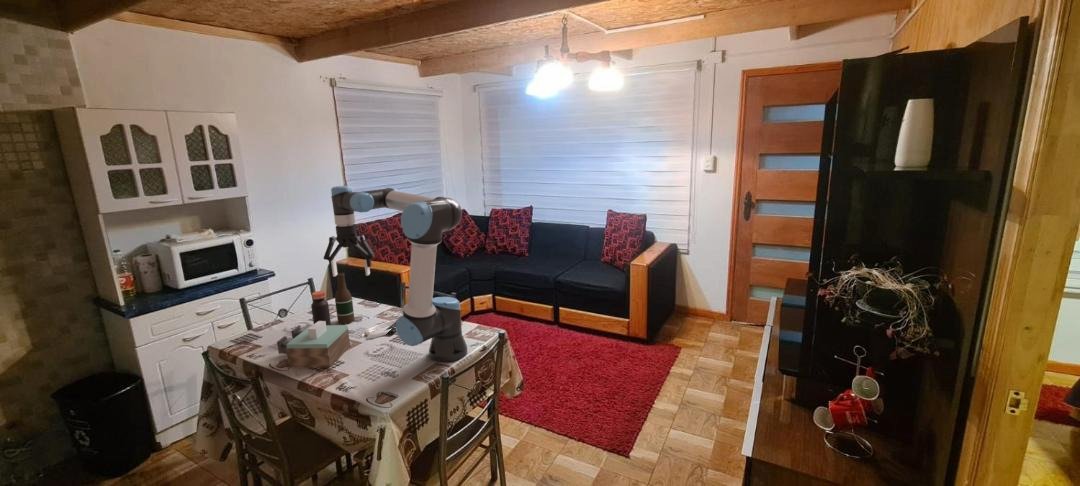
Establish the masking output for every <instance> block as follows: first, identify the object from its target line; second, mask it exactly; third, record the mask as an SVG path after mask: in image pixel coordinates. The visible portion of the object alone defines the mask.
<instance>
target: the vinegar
mask: <svg viewBox="0 0 1080 486" xmlns="http://www.w3.org/2000/svg"><path fill="white" fill-rule="evenodd" d="M311 297H312V300H313V301H312V303H311V304H310V306H311V314H312V322H313V325H314V324H315V323H316V322H318V321H326V325H332V323H331V315H330V307H329V301H327V300H326V299H325V298H326V295H325V291H323V290H320V291H314V292H312V293H311Z"/></svg>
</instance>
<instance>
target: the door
mask: <svg viewBox="0 0 1080 486" xmlns="http://www.w3.org/2000/svg"><path fill="white" fill-rule="evenodd" d="M347 329H348V330H349V328H348V324H339V325H338V324H337V325H335V324H334V325H333V324H331V325H326V321H318V322H316V323H315V324H314V323H313V325H309V326H308V327H307V328H306V327H305V326H303V327H301V329H300V330H299V331H297V335H298V336H296V337H295V338H294V339H292V336H291V337H287V340H285V341H284V342H283V345H284V346H287V348H328V347H329V346H330V345H331V344H332V343H333V342H334V341H335V340H337V339H338V338H339V337H340V336H341V335H342V334H343V333H344V332H345V331H346V330H347Z"/></svg>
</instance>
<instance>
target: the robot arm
mask: <svg viewBox="0 0 1080 486" xmlns="http://www.w3.org/2000/svg"><path fill="white" fill-rule="evenodd" d="M330 189H331V190H330V191H331V197H330V198H331V202H332V209H333V216H334V217H333V218H334V225H336V226H335V232H336V236H334V235H332V236H330V237H329V238H328V244H327V247H326V250H325V253H324V256H323V260H327V261H328V264H329V269H331V272H332V277H337V276H336V275H338V267H337V266H338V265H337V259H335V257H336V256H337V254H338V253H339V252H340V251H341V249H342V248H343V249H344V248H353V249H355V250H356V251H357V252H358V253H359V254H360V255H361V256H362V257H363V258H364V260H363V263H364V270H365V271H364V272H365V276H366V277H367V276H370V274H371V269H370V268H371V266H372V259H374V257H375V256H376V254H375V252H374V251H373V250H372V248H371V246H370V244H369V243H368V242H367V239H366V235H364V234H363V235H361V236H359V235H358V234H357V226H356V218H355V212H357V213H361V214H362V213H368V212H369V211H371V210H372V211H373V210H379V209H383V208H384V209H389V210H395V211H398V212H402V213H401V217H400V226H401V228H402V233H403V234H404V236H406V237H407V238H406V239H407V240H408V242H409V243H411V248H410V249H411V250H410V264H409V265H410V266H409V279H408V281H409V283H408V295H407V296H408V299H407V303H406V304H404V306H403V308H402V309H403V310H402V316H399V317H398V318H397V320H396V319H395V320H396V324H394V325H395V327H396V333H397V336H398V337H399V338H400V340H401V341H402V342H403V343H404V344H406V345H407V346H409V347H414V346H418V345H421V344H423V343H425V342H427V341H428V340H431V341H430V345H429V349H428V355H429V356H428V357H429V359H431V360H432V361H434V362H435V361H436V362H438V363H439V362H442V363H446V362H454V361H458V360H460V359H462V358H464V357H465V356H467V354H468V346H467V345H468V344H467V343H466V340H465V338H464V335H463V330H462V313H461V312H462V309H461V304H460V300H458V299H457V298H455V297H452V296H437V297H433V296H434V284H435V275H436V274H435V272H436V263H437V261H436V260H437V249H438V245H439V244H441V243H442V241H443V233H444V232H448V231H452V230H453V229H455V228H456V227H457V226H458V225H459V224H460V223H461V220H462V217H463V209H462V207H461V205H460V204H459V202H457V200H455V199H454V198H450V197H444V196H437V197H429V196H424V195H420V194H415V193H408V192H403V191H400V190H398V189H397V188H396V187H386V188H381V189H380V188H379V189H373V190H363V191H362V190H361V191H352V187H351V186H349V185H337V186H333V187H331V188H330ZM358 241H359V242H360V244H361V245H362V246H361V245H360V244H359V243H358ZM335 242H337V243H338V244H337V246H336V248H335V249H334V251H333V252H332V250H333V247H334V245H335ZM331 252H332V253H331Z"/></svg>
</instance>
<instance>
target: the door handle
mask: <svg viewBox="0 0 1080 486" xmlns="http://www.w3.org/2000/svg"><path fill="white" fill-rule="evenodd" d="M397 319H398V318H397ZM397 319H392V320H388V321H386V322H383V323H380V324H377V325H375V326H373V327H370V328H367V329H365V330H364V331H362V332H361V334H360V337H361V338H363V337H364V336H365V337H366V338H365V340H367V341H368V340H370V339H376V338H378V337H379V338H380V337H383V336H386V334H387V333H388V332H389V331H390V330H391V329H392V328H390V329H385V330H382V331H379V332H375V331H377V330H381V329H384V328H385V327H389V326H392V325H391V324H393V323H395V322H396V320H397ZM393 325H394V324H393ZM394 328H396V326H395V327H394ZM387 335H388V334H387Z"/></svg>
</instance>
